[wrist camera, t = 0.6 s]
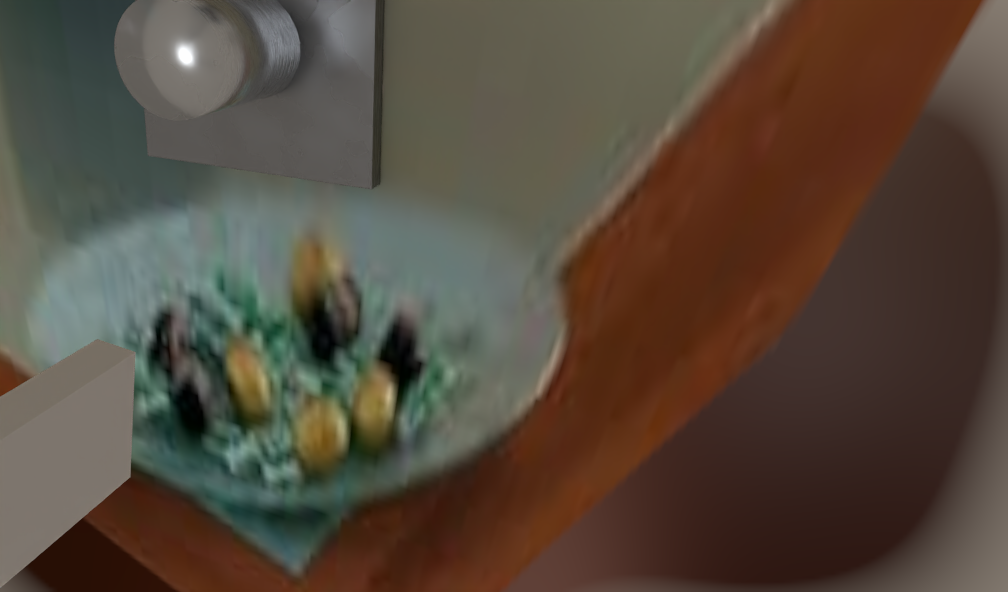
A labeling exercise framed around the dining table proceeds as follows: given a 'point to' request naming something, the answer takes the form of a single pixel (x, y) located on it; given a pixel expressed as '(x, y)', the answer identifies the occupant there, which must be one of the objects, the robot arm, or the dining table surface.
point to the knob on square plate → (259, 84)
